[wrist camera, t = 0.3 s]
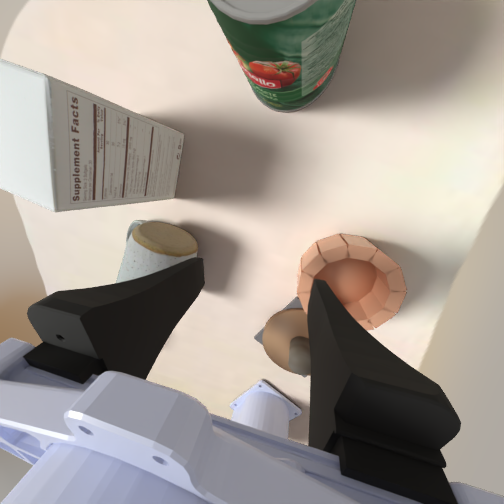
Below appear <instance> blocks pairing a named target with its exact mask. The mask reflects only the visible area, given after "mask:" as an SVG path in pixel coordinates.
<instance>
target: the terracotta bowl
mask: <svg viewBox="0 0 504 504" xmlns="http://www.w3.org/2000/svg"><path fill="white" fill-rule="evenodd" d="M314 278H315V279H320V280H325V281H326V282H327V284H328V285H329V287H330V288H331V290H332V291H333V293H334V294H335V295H336V297H337V298H338V300H339V301H340V302H341V303H342V305H343V306H344V307H345V308H346V310H347V311H348V312H349V313H350V314H351V315H352V317H353V318H354V319H355V320H356V321H357V322H358V323H359V324H360V325H361V326H362V327H363V328H364V329H365V330H372V329H374V328H373V326H374V327H375V328H377V327H379V326H380V325H382V324H383V323H385V322H386V321H388V320H389V319H391V318H392V317H393V316H395V315H396V314H395V313H398V311H399V308H400V306H401V304H402V302H403V300H404V297H405V295H406V293H407V292H406V290H407V289H406V285H405V281H404V277H403V274H402V270H401V267H399V265H398V264H397V263H395V262H394V261H393V260H392V259H391V258H389V257H388V256H387V255H386V254H384V253H383V252H382V251H381V250H379V249H378V248H377V247H376V246H374V245H373V244H372V243H371V242H369V241H368V240H367V239H366V238H363V237H360V236H353V235H346V234H340V235H339V234H336V235H333V236H330V237H327V238H324V239H321V240H318V241H317V242H315V243H314V244H313V245H312V246H311V247H310V248H309V249H308V250H307V251H306V252H305V253H304V255H303V256H302V258H301V261H300V266H299V271H298V279H297V294H298V297H299V299H300V302H301V304H302V307H303V309H304V312H306V314H307V311H308V302H309V298H310V294H311V290H312V286H313V282H314Z"/></svg>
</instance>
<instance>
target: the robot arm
mask: <svg viewBox="0 0 504 504" xmlns="http://www.w3.org/2000/svg"><path fill="white" fill-rule="evenodd" d="M204 284H205V282H204V266H203V259H202V258H197V257H193V258H190V259H188V260H185V261H183V262H180V263H178V264H175V265H173V266H170V267H168V268H165V269H163V270H160V271H157V272H155V273H152V274H149V275H146V276H143V277H139V278H136V279H132V280H128V281H124V282H119V283H115V284H110V285H105V286H99V287H92V288H85V289H75V290H66V291H57V292H55V293H53V294H51V295H49V296H47V297H46V298H44V299H42V300H40V301H39V302H37V303H35V304H33V305H31V306H30V307H29V308H28V312H27V315H28V318H29V320H30V322H31V324H32V326H33V327H34V329H35V330H36V332H37V333H38V335H39V336H40V338H41V339H42V341H43V343H41V344H40V345H38V346H37V347H34V346H33V345H32V344H30V343H27V342H24V341H21V340H18V339H15V338H9V339H7V340H6V341H5V342H3V343H1V344H0V448H2V449H4V450H5V451H8V452H9V453H11V454H13V455H15V456H17V457H19V458H21V459H22V460H24V461H26V462H28V463H30V464H32V465H33V467H32V468H31V469H30V470H29V471H28V472H27V474H26V475H25V476H24V477H23V478H22V479H21V481H20V482H19V483H18V484H17V485H16V486H15V487H14V488H13V490H12V491H11V492H10V493H9V494H8V495H7V497H6V498H5V499H4V500H3V501H2V502H1V503H0V504H504V496H501V495H498V494H495V493H492V492H489V491H486V490H483V489H480V488H477V487H473V486H470V485H467V484H464V483H459V482H451V483H449V482H448V480H447V478H446V476H445V473H444V471H443V469H442V468H445V467H446V462H445V459H444V457H443V455H442V453H441V451H440V449H441V448H442V447H443V446H445V445H446V444H447V443H448V442H449V441H451V440H452V439H453V438H454V437H455V436H456V435H457V433H458V432H459V431H460V426H461V422H460V419H459V417H458V415H457V414H456V412H455V410H454V408H453V407H452V405H451V403H450V402H449V400H448V398H447V397H446V395H445V393H444V392H443V390H442V389H441V387H440V386H439V385H438V384H436V383H435V382H433V381H432V380H430V379H429V378H427V377H426V376H424V375H423V374H421V373H420V372H418V371H417V370H415V369H414V368H412V367H411V366H410V365H408V364H407V363H405V362H404V361H403V360H401V359H400V358H399V357H397V356H396V355H395V354H393V353H392V352H391V351H390V350H388V349H387V348H386V347H384V346H383V345H382V344H381V343H380V342H379V341H377V340H376V339H375V338H374V337H373V336H372V335H371V334H369V333H368V332H367V331H366V330H365V329H364V328H363V327H362V326H361V325H360V324H359V323H358V322H357V321H356V320H355V319H354V318H353V317H352V315H351V314H350V313H349V312H348V311H347V310H346V308H345V307H344V306H343V305H342V303H341V302H340V301H339V300H338V298H337V297H336V295H335V294H334V293H333V291H332V290H331V288H330V287H329V285H328V284H327V282H326V281H325V280H320V279H315V278H314V282H313V286H312V290H311V294H310V298H309V302H308V311H307V323H308V335H309V345H310V358H311V386H310V422H309V445H308V446H307V445H304V444H301V443H298V442H295V441H292V440H289V439H288V431H289V421H290V420H292V419H294V418H296V417H297V416H299V415H301V414H302V410H301V409H300V408H299V407H297V406H296V405H295V404H293V403H292V402H291V401H289V400H288V399H287V398H286V397H284V396H283V395H282V394H280V393H279V392H278V391H277V390H275V389H274V388H273V387H271V386H270V385H269V384H268V383H266V382H265V381H263V380H261V381H259V382H258V383H256V384H255V385H254V386H253V387H251V388H250V389H249V390H247V391H246V392H245V393H243V394H242V395H241V396H240V397H238V398H237V399H236V400H234V401H233V402H232V403H231V404H230V408H231V409H233V410H234V411H233V414H232V418H231V420H229V419H226V418H223V417H220V416H217V415H214V414H211V413H209V412H208V410H207V408H206V407H205V406H204V405H203V404H202V403H201V402H199V401H198V400H197V399H196V398H194V397H192V396H190V395H188V394H185V393H183V392H181V391H178V390H175V389H172V388H169V387H165V386H162V385H159V384H156V383H153V382H150V381H147V380H146V378H147V376H148V374H149V372H150V370H151V368H152V366H153V364H154V362H155V360H156V358H157V357H158V355H159V353H160V351H161V350H162V348H163V346H164V344H165V342H166V341H167V339H168V337H169V336H170V334H171V333H172V331H173V329H174V328H175V326H176V325H177V323H178V322H179V321H180V319H181V318H182V317H183V315H184V314H185V313H186V311H187V310H188V309H189V307H190V306H191V305H192V303H193V302H194V301H195V299H196V298H197V297H198V295H199V293H200V292H201V290H202V288H203V286H204Z"/></svg>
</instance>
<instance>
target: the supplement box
mask: <svg viewBox="0 0 504 504" xmlns="http://www.w3.org/2000/svg"><path fill="white" fill-rule="evenodd" d="M183 143H184V134H183V133H181V132H179V131H177V130H174V129H172V128H170V127H167V126H165V125H162V124H160V123H158V122H155V121H153V120H151V119H149V118H146V117H144V116H142V115H139V114H137V113H135V112H133V111H130V110H128V109H126V108H123V107H121V106H119V105H117V104H114V103H112V102H110V101H108V100H105V99H103V98H101V97H99V96H96V95H94V94H92V93H90V92H87V91H85V90H82V89H80V88H78V87H75V86H73V85H70V84H68V83H65V82H63V81H61V80H58V79H56V78H53V77H51V76H48V75H46V74H43V73H40V72H37V71H34V70H31V69H28V68H26V67H23V66H20V65H17V64H14V63H11V62H8V61H5V60H3V59H0V188H1V189H3V190H5V191H7V192H10V193H12V194H14V195H16V196H19V197H21V198H23V199H26V200H28V201H30V202H33V203H35V204H37V205H39V206H42V207H44V208H46V209H49V210H51V211H53V212H62V211H70V210H80V209H88V208H96V207H106V206H115V205H124V204H133V203H142V202H150V201H159V200H167V199H174V196H175V191H176V185H177V179H178V173H179V167H180V161H181V155H182V149H183Z"/></svg>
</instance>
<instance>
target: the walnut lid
mask: <svg viewBox="0 0 504 504" xmlns="http://www.w3.org/2000/svg"><path fill="white" fill-rule="evenodd" d="M262 341H263V346H264V349H265V351H266V353H267V355H268V356H269V357H270V359H271V360H272V361H273V362H274V363H276V364H277V365H278V366H280V367H281V368H283V369H285V370H287V371H289V372H292V373H295V374H299V375H311V358H310V345H309V335H308V323H307V314H306V312H304V309H303V308H290V309H286V310H282V311H280V312H278V313H276V314H274V315H273V316H272V317H271V318H270V319H269V320H268V322H267V323H266V325H265V328H264V332H263V337H262Z"/></svg>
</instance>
